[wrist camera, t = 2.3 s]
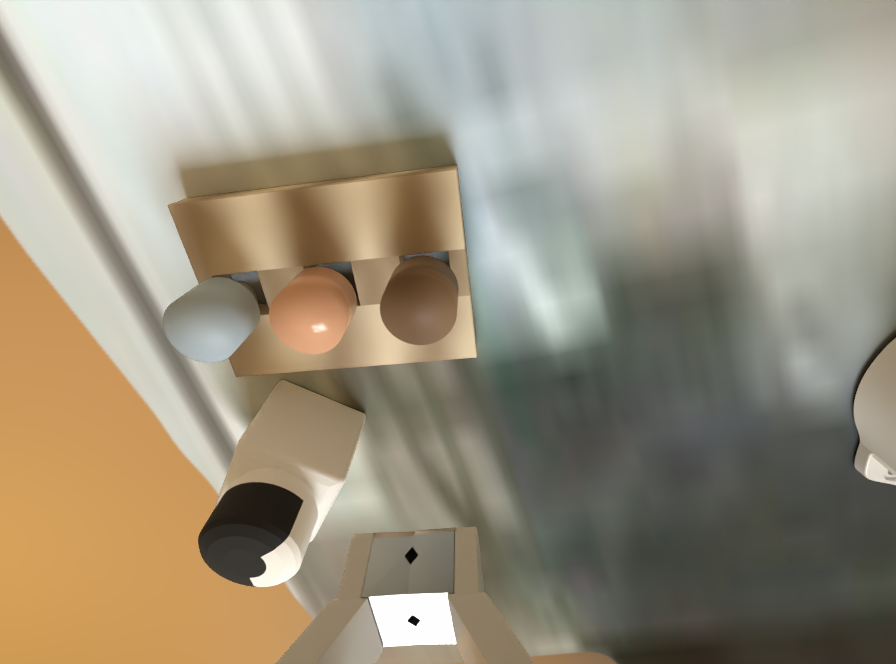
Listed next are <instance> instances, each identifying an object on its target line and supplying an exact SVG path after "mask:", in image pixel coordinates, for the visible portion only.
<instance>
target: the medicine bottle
mask: <svg viewBox="0 0 896 664" xmlns="http://www.w3.org/2000/svg"><path fill="white" fill-rule="evenodd" d="M365 419H366V416H365V414H364V413H362V412H360V411H357V410H355V409H352V408H350V407H348V406H345V405H343V404H340V403H338V402H336V401H333V400H331V399H328V398H326V397H324V396H321V395H319V394H316V393H314V392H312V391H309V390H307V389H304V388H302V387H300V386H297V385H295V384H292V383H290V382H288V381H285V380H280V381H279V382H278V383H277V385H276V386H275V388H274V389H273V391H272V392H271V394H270V395H269V397H268V398H267V400H266V401H265V403H264V404H263V406H262V407H261V409H260V410H259V411H258V413H257V414H256V416H255V417H254V419H253V420H252V422H251V423H250V425H249V426H248V428H247V429H246V431H245V432H244V434H243V435H242V437H241V438H240V440H239V442H238V445H237V448H236V450H235V453H234V456H233V459H232V461H231V464H230V467H229V469H228V472H227V475H226V478H225V480H224V483H223V486H222V489H221V491H220V494H219V497H218V500H217V502H216V508H215V509H214V511H213V512H212V514H211V516H210V517H209V519H208V521H207V522H206V524H205V526H204V527H203V529H202V530H201V532H200V534H199V538H198V544H199V549H200V553H201V556H202V558H203V559H204V561H205V563H206V564H207V565H208V566H209V567H210V568H211V569H212V570H213V571H214V572H216V573H217V574H219V575H220V576H222V577H224V578H226V579H228V580H230V581H232V582H235V583H238V584H242V585H246V586H253V587H267V586H273V585H277V584H280V583H282V582H284V581H286V580H288V579H289V578H291V577H292V576H294V575H295V574H296V573H297V571H298V570H299V568H300V566H301V563H302V560H303V557H304V555H305V552H306V549H307V546H308V544H309V542H311V541H312V540H313V539H314V537H315V535H316V534H317V532H318V530H319V528H320V526H321V525H322V523H323V521H324V519H325V517H326V515H327V514H328V512H329V510H330V508H331V506H332V504H333V503H334V501H335V499H336V497H337V495H338V493H339V492H340V490H341V488H342V486H343V484H344V482H345V480H346V477H347V474H348V471H349V468H350V465H351V462H352V459H353V456H354V453H355V450H356V447H357V444H358V441H359V437H360V434H361V431H362V428H363V425H364V422H365Z"/></svg>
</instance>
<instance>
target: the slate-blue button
mask: <svg viewBox="0 0 896 664" xmlns="http://www.w3.org/2000/svg"><path fill="white" fill-rule="evenodd" d="M259 320H260V310H259V306H258V303H257V294H256V292H255V290H254V288H253V287H252V286H251V285H249V284H248V283H246V282H243V281H234V280H231V279H228V278H223V277H214V278H209V279H207V280H205V281H203V282H201V283H200V284H199V285H197V286H196V287H194V288H193V289H191V290H190V291H189V292H187V293H186V294H184V295H183V296H181V297H180V298H179V299H177V300H176V301H174V302H173V303H171V304H170V305H169V306H168V307H167V309H166V310H165V313H164V316H163V327H164V331H165V333H166V336H167V338H168V339H169V341H170V342H171V344H172V345H173V346H174V347H175V348H176V349H177V350H178V351H179V352H181V353H182V354H184V355H185V356H187V357H189V358H191V359H193V360H196V361H199V362H203V363H217V362H221V361H223V360H226V359H227V358H229V357H230V356H231V355H232V354H233V353H234V352H235V351H236V349H237V348H238V347H239V346H240V345H241V344H242V343H243V342H244V341H245V340H246V339H247V338H248V336H249V335H250V334H251V333H252V332H253V331H254V330H255V329H256V327H257V325H258V323H259Z"/></svg>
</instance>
